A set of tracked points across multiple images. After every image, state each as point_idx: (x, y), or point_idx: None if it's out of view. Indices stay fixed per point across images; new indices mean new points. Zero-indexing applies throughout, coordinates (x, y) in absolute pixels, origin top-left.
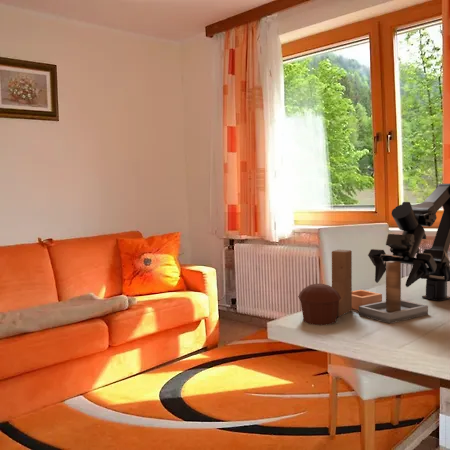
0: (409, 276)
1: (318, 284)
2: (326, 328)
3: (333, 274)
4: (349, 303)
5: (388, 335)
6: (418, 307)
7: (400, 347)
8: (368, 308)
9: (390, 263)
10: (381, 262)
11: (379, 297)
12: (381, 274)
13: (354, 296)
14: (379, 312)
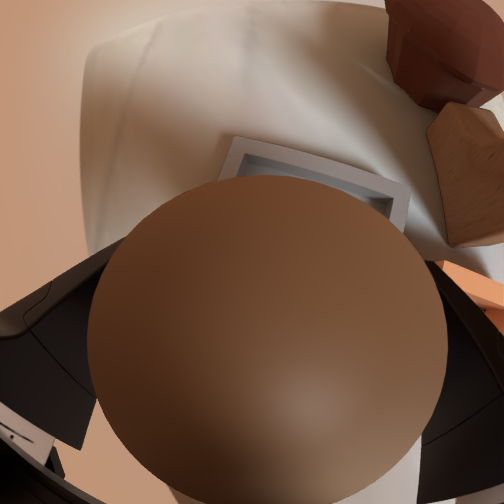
0: (86, 270)
1: (479, 5)
2: (364, 29)
3: None
4: (461, 213)
5: (199, 57)
6: None
7: (156, 27)
8: (358, 172)
9: (262, 184)
10: (501, 455)
11: None
12: None
13: (481, 275)
14: (289, 149)
